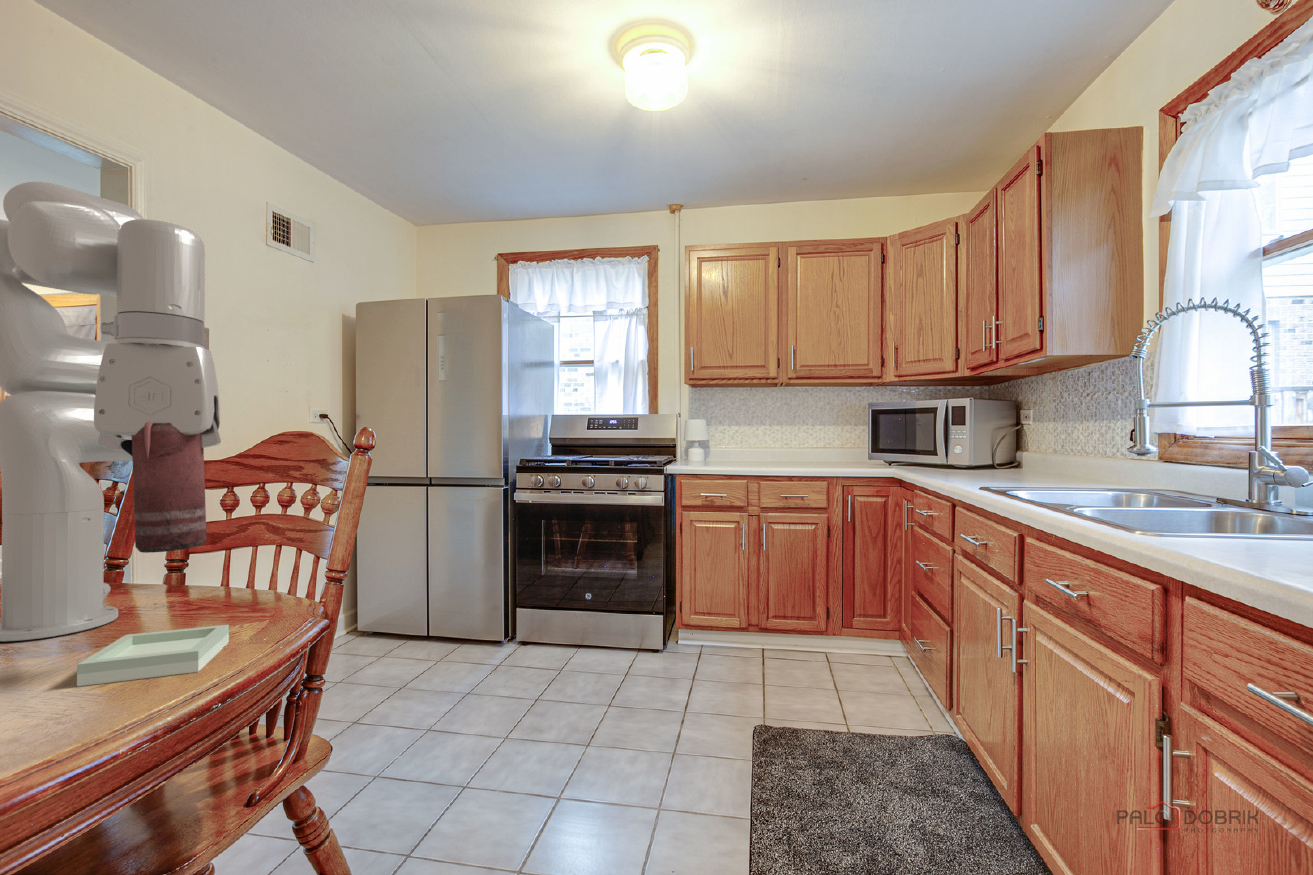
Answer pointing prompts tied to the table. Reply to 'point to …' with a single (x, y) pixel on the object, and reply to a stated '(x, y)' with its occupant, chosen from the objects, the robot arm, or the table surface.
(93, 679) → the plate
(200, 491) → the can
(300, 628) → the table surface
